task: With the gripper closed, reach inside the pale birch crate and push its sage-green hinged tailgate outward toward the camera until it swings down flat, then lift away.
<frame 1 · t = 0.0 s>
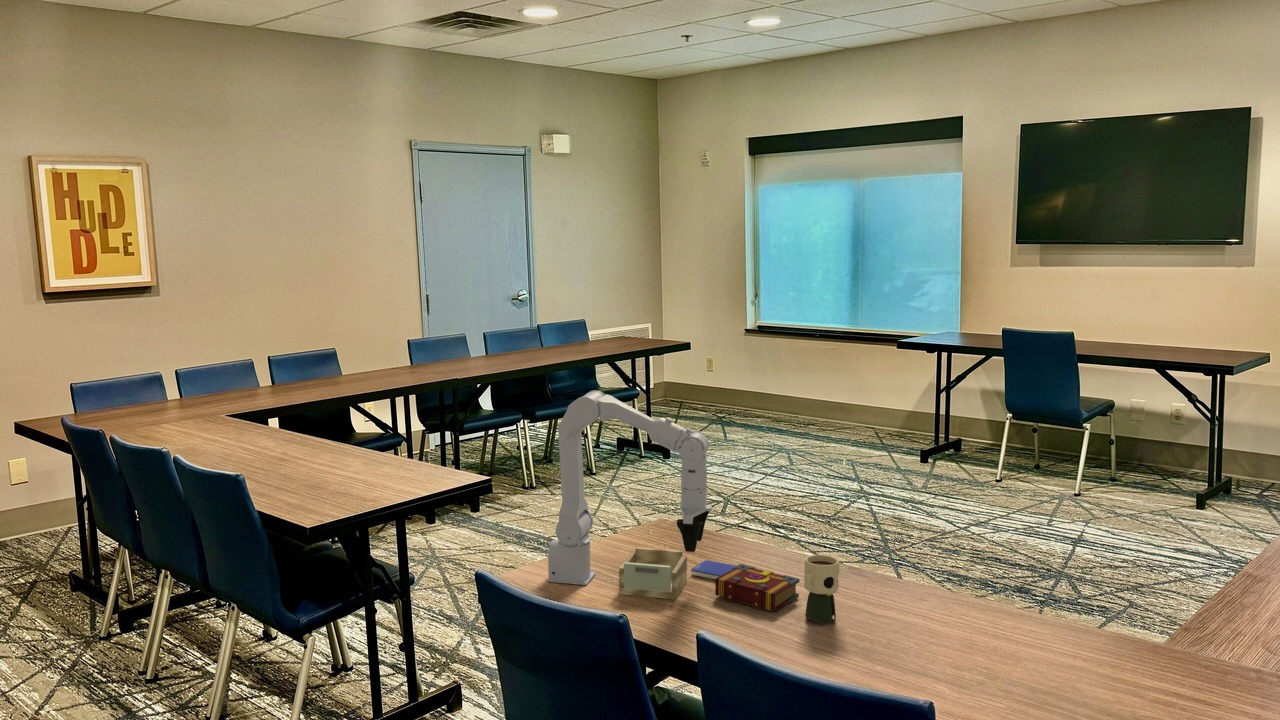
hand: (693, 545, 221), 10 cm above the table, fingers open, 7 cm apart
character mug: (820, 620, 205), on the table
hard drive: (722, 575, 231), on the table, touching decorative book
decorative book: (754, 597, 217), on the table, touching hard drive
crate: (653, 587, 223), on the table
tailgate: (647, 577, 217), point 5 cm above the table, hinge at 0.0°
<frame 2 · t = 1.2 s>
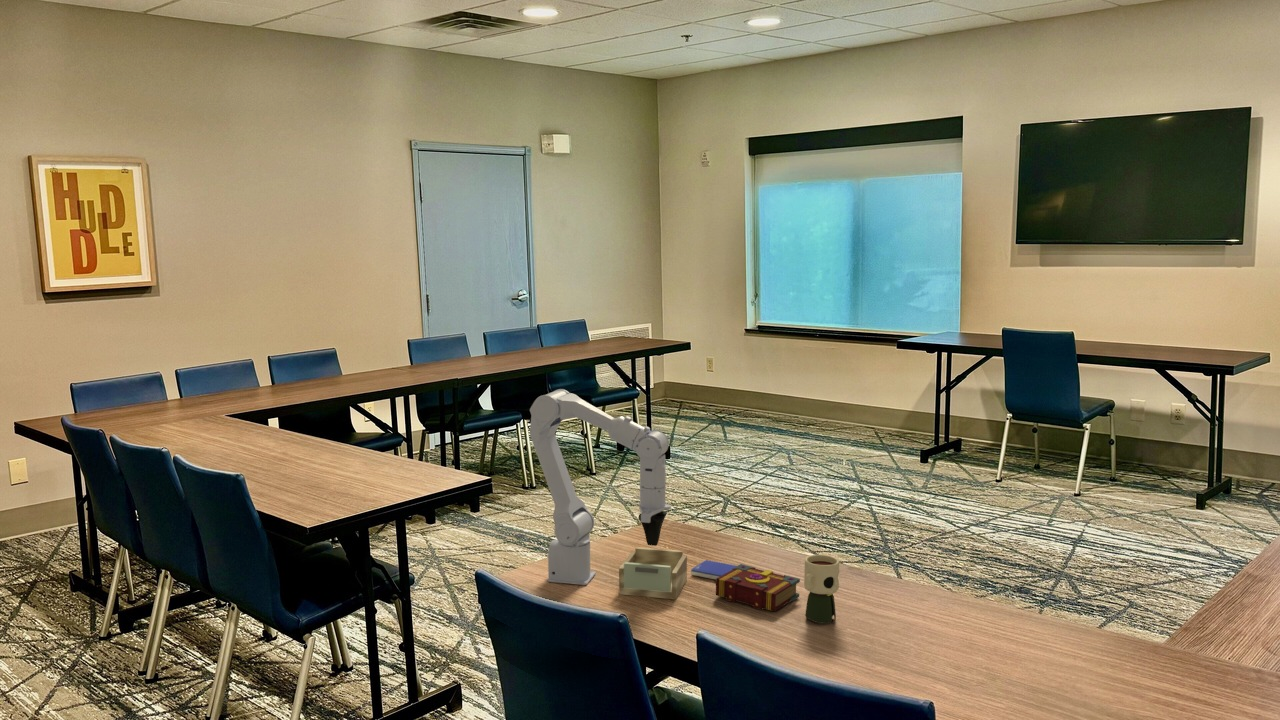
hand: (652, 544, 221), 10 cm above the table, fingers closed
nothing on the table moved.
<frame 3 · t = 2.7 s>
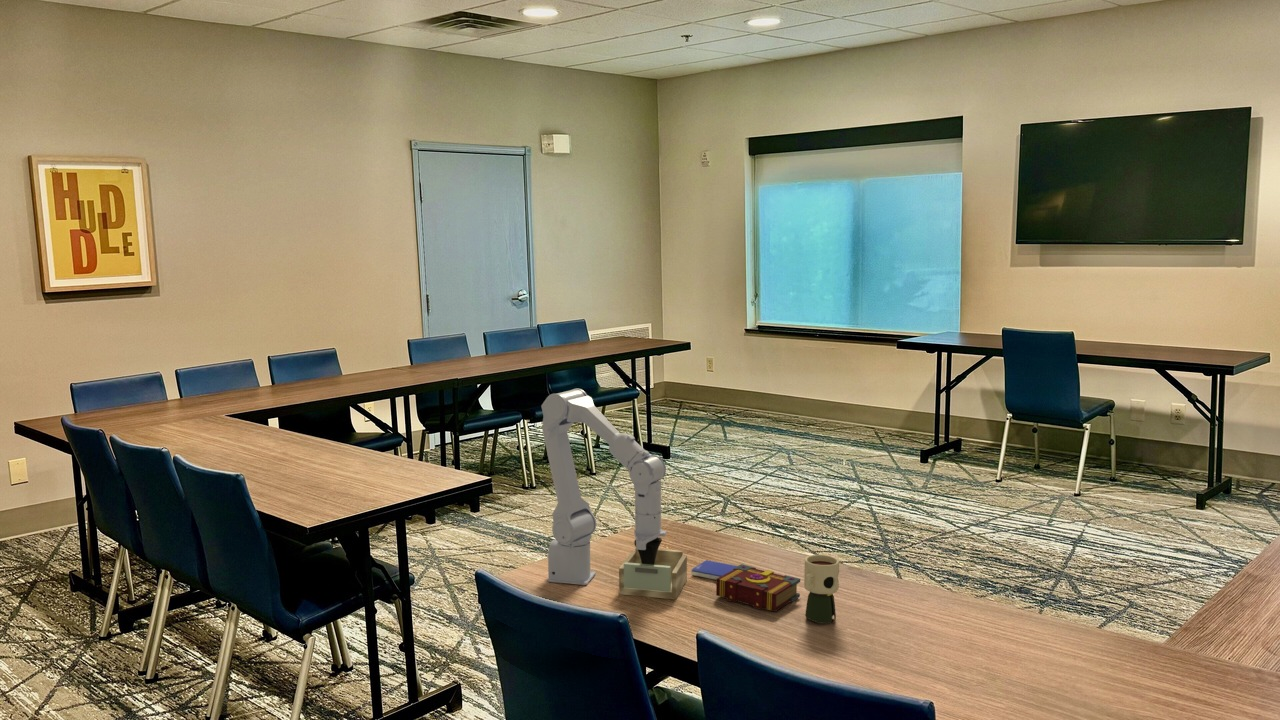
hand: (648, 571, 217), 6 cm above the table, fingers closed, pressing on tailgate
tailgate: (646, 577, 217), point 5 cm above the table, hinge at 2.5°, touching gripper
everything else where it was.
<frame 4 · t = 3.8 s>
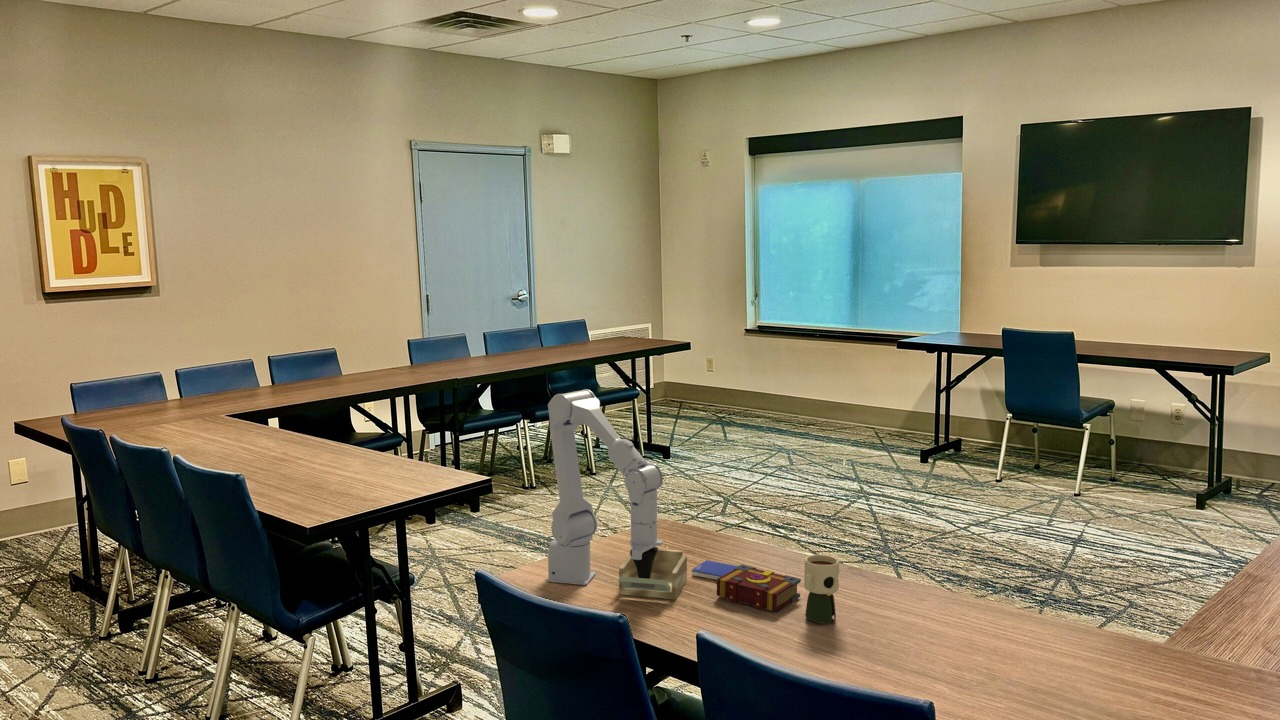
hand: (644, 581, 214), 5 cm above the table, fingers closed, pressing on tailgate
tailgate: (644, 585, 215), point 4 cm above the table, hinge at 54.4°, touching gripper
everything else where it was.
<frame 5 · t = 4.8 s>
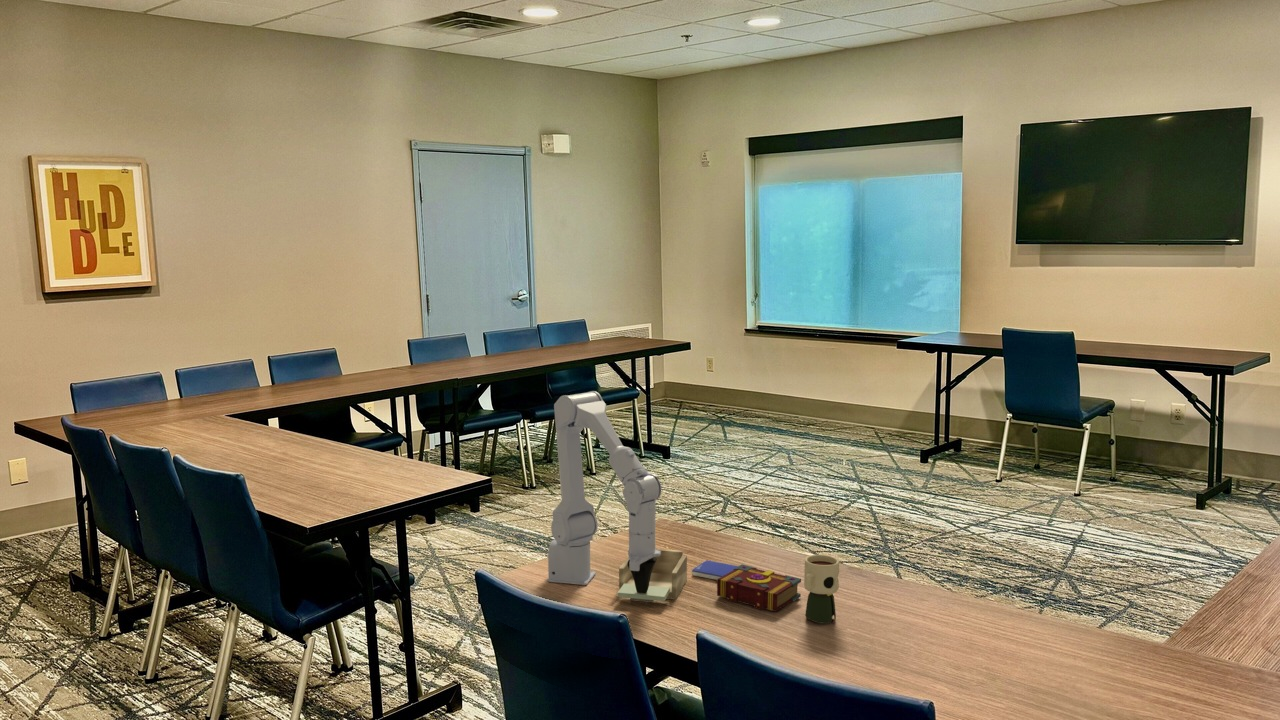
hand: (642, 591, 212), 3 cm above the table, fingers closed
tailgate: (643, 593, 214), point 2 cm above the table, hinge at 89.6°
everything else where it was.
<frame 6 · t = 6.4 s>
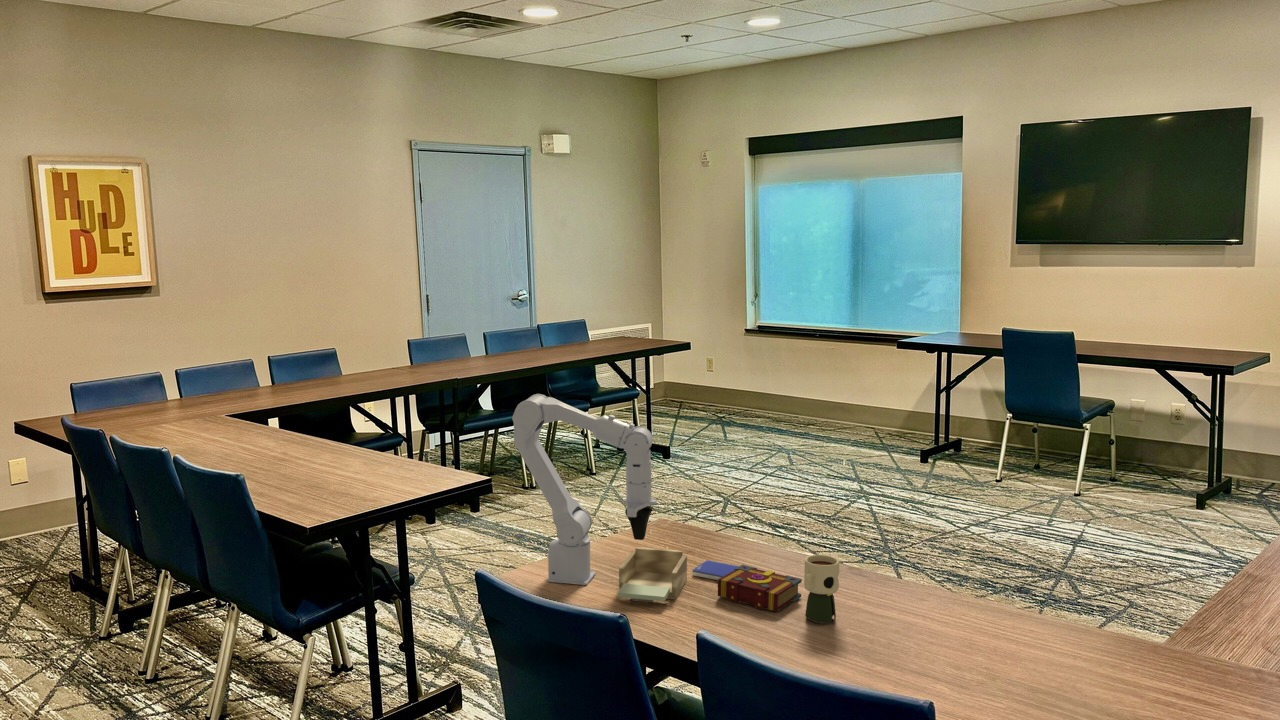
hand: (639, 538, 225), 10 cm above the table, fingers closed
nothing on the table moved.
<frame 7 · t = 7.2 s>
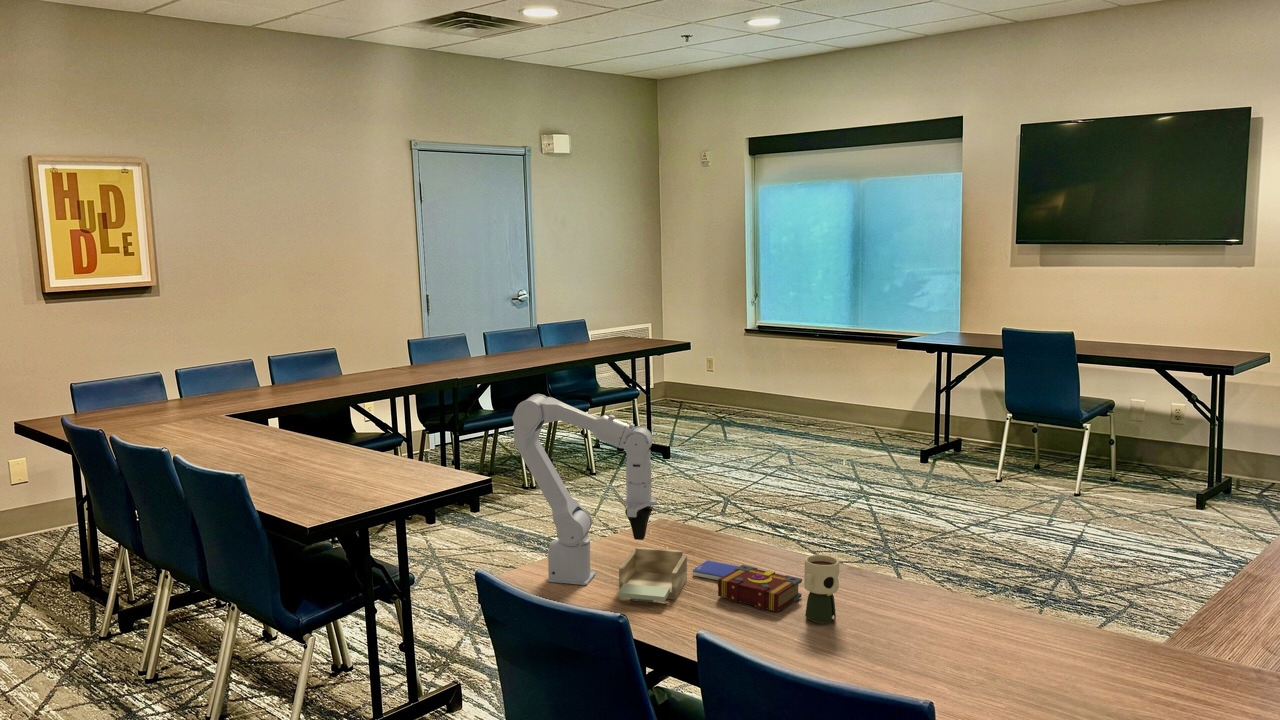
hand: (639, 538, 225), 10 cm above the table, fingers closed
nothing on the table moved.
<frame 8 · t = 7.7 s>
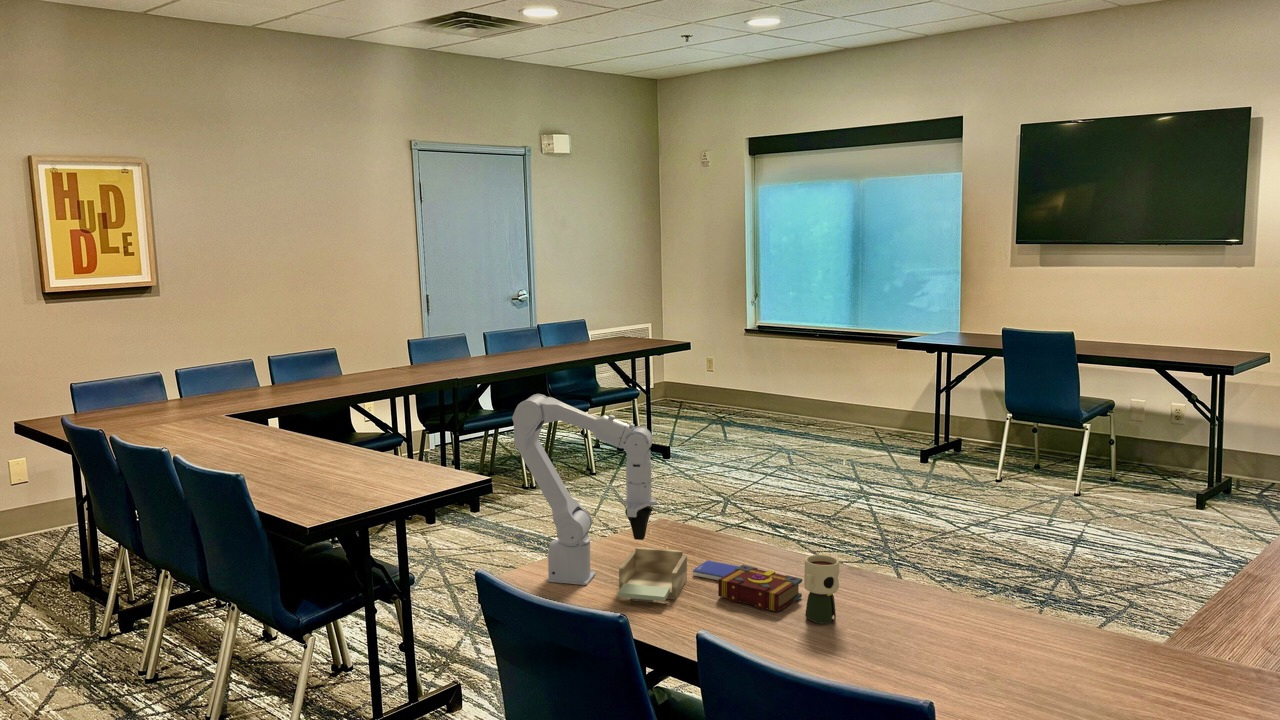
hand: (639, 538, 225), 10 cm above the table, fingers closed
nothing on the table moved.
at the end: tailgate at +90° (first picture: +0°); hard drive moved 0.5 cm from its start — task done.
